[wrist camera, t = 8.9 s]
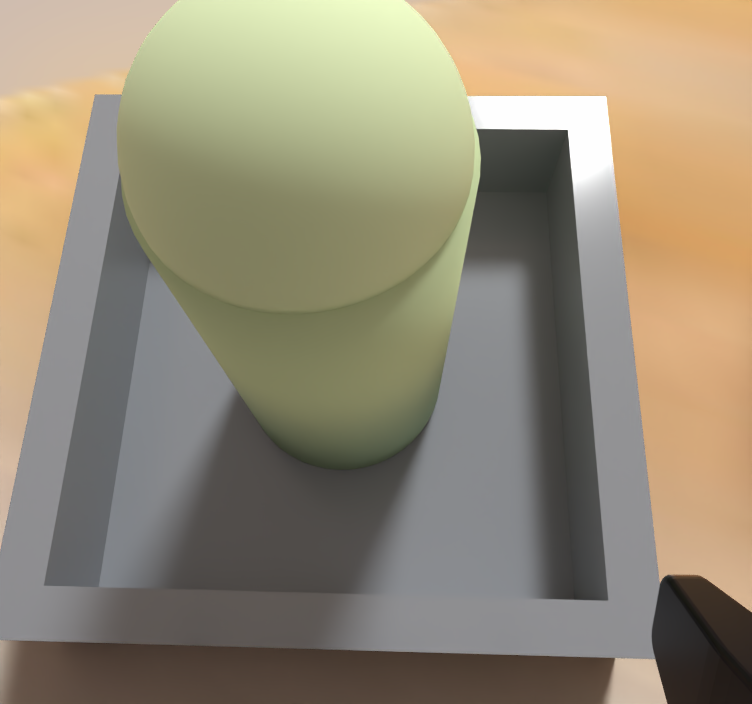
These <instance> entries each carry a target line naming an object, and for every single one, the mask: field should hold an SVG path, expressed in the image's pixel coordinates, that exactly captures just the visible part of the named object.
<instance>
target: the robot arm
mask: <svg viewBox="0 0 752 704" xmlns="http://www.w3.org/2000/svg"><path fill="white" fill-rule="evenodd" d="M651 637H652V647H653V652H654V656H655V659H656V663H657V667H658V670H659V674H660V678H661V682H662V685H663V689H664V693H665V696H666V700H667V704H752V612H750V611H749V610H748V609H746V608H745V607H743V606H742V605H741V604H739V603H738V602H737V601H735V600H734V599H733V598H731V597H730V596H728V595H727V594H726V593H724V592H723V591H722V590H720V589H719V588H718V587H716V586H715V585H713V584H712V583H711V582H709V581H708V580H707V579H705V578H703V577H701V576H698V575H667V576H665V577H664V578H663V579H662V581H661V583H660V587H659V592H658V597H657V603H656V608H655V614H654V619H653V625H652V635H651Z"/></svg>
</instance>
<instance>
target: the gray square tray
mask: <svg viewBox="0 0 752 704" xmlns="http://www.w3.org/2000/svg"><path fill="white" fill-rule="evenodd" d="M121 96H122V95H95V98H94V102H93V107H92V112H91V117H90V122H89V126H88V131H87V136H86V141H85V146H84V151H83V155H82V160H81V165H80V170H79V175H78V179H77V184H76V189H75V194H74V199H73V203H72V208H71V213H70V218H69V223H68V228H67V232H66V237H65V242H64V247H63V252H62V256H61V261H60V266H59V271H58V276H57V281H56V285H55V290H54V295H53V300H52V305H51V309H50V314H49V319H48V324H47V329H46V333H45V338H44V343H43V348H42V353H41V358H40V362H39V367H38V372H37V377H36V382H35V386H34V391H33V396H32V401H31V406H30V411H29V415H28V420H27V425H26V430H25V435H24V439H23V444H22V449H21V454H20V459H19V463H18V468H17V473H16V478H15V483H14V488H13V492H12V497H11V502H10V507H9V512H8V516H7V521H6V526H5V531H4V536H3V541H2V545H1V550H0V640H19V641H53V642H88V643H122V644H156V645H190V646H225V647H259V648H293V649H328V650H362V651H396V652H430V653H465V654H499V655H533V656H567V657H602V658H636V659H655V656H654V652H653V647H652V637H651V635H652V625H653V619H654V614H655V608H656V603H657V597H658V592H659V587H660V583H659V574H658V565H657V556H656V547H655V538H654V529H653V520H652V511H651V501H650V492H649V483H648V474H647V465H646V456H645V447H644V438H643V429H642V420H641V411H640V402H639V393H638V384H637V375H636V366H635V357H634V348H633V339H632V330H631V321H630V311H629V302H628V293H627V284H626V275H625V266H624V257H623V248H622V239H621V230H620V221H619V212H618V203H617V194H616V185H615V176H614V167H613V158H612V149H611V140H610V130H609V121H608V112H607V103H606V97H553V96H467V97H468V101H469V104H470V108H471V114H472V117H473V119H474V123H475V126H476V130H477V133H478V137H479V146H480V154H481V164H480V179H479V184H478V190H477V195H476V200H475V205H474V210H473V216H472V221H471V226H470V231H469V237H468V242H467V247H466V252H465V258H464V263H463V268H462V273H461V279H460V284H459V289H458V294H457V300H456V305H455V310H454V315H453V320H452V326H451V331H450V336H449V341H448V347H447V352H446V357H445V362H444V368H443V373H442V378H441V383H440V389H439V394H438V399H437V402H436V405H435V408H434V411H433V413H432V415H431V417H430V419H429V421H428V422H427V424H426V425H425V427H424V428H423V430H422V431H421V433H420V434H419V435H418V436H417V437H416V438H415V439H414V440H413V441H412V442H411V443H410V444H409V445H408V446H407V447H405V448H404V449H403V450H402V451H400V452H399V453H397V454H395V455H394V456H392V457H391V458H389V459H386V460H384V461H382V462H380V463H377V464H374V465H371V466H368V467H363V468H358V469H349V470H335V469H326V468H321V467H316V466H313V465H310V464H307V463H304V462H302V461H300V460H298V459H296V458H294V457H292V456H290V455H289V454H288V453H286V452H285V451H283V450H282V449H281V448H279V447H278V446H277V445H276V444H275V443H274V442H273V441H272V440H271V439H270V438H269V436H268V435H267V434H266V433H265V431H264V430H263V429H262V427H261V426H260V424H259V423H258V421H257V420H256V418H255V417H254V415H253V414H252V412H251V411H250V409H249V408H248V406H247V405H246V403H245V402H244V400H243V399H242V397H241V396H240V394H239V393H238V391H237V390H236V388H235V387H234V385H233V384H232V382H231V381H230V379H229V378H228V376H227V375H226V373H225V372H224V370H223V369H222V367H221V366H220V364H219V363H218V361H217V360H216V358H215V357H214V355H213V354H212V352H211V351H210V349H209V348H208V346H207V345H206V343H205V342H204V340H203V339H202V337H201V336H200V334H199V333H198V331H197V330H196V328H195V327H194V325H193V324H192V322H191V321H190V319H189V318H188V316H187V315H186V313H185V312H184V310H183V309H182V307H181V306H180V304H179V303H178V301H177V300H176V298H175V297H174V295H173V294H172V292H171V291H170V289H169V288H168V286H167V285H166V283H165V282H164V280H163V279H162V278H161V276H160V275H159V273H158V272H157V270H156V269H155V267H154V266H153V264H152V263H151V261H150V260H149V258H148V257H147V255H146V254H145V252H144V250H143V249H142V247H141V245H140V244H139V242H138V240H137V239H136V237H135V235H134V233H133V231H132V228H131V226H130V223H129V221H128V218H127V216H126V212H125V207H124V203H123V198H122V188H121V176H120V171H119V167H118V153H117V121H118V112H119V106H120V101H121Z"/></svg>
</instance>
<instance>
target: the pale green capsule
mask: <svg viewBox="0 0 752 704" xmlns="http://www.w3.org/2000/svg"><path fill="white" fill-rule="evenodd" d="M117 153H118V167H119V171H120V176H121V188H122V198H123V203H124V207H125V212H126V216H127V218H128V221H129V223H130V226H131V228H132V231H133V233H134V235H135V237H136V239H137V240H138V242H139V244H140V245H141V247H142V249H143V250H144V252H145V254H146V255H147V257H148V258H149V260H150V261H151V263H152V264H153V266H154V267H155V269H156V270H157V272H158V273H159V275H160V276H161V278H162V279H163V280H164V282H165V283H166V285H167V286H168V288H169V289H170V291H171V292H172V294H173V295H174V297H175V298H176V300H177V301H178V303H179V304H180V306H181V307H182V309H183V310H184V312H185V313H186V315H187V316H188V318H189V319H190V321H191V322H192V324H193V325H194V327H195V328H196V330H197V331H198V333H199V334H200V336H201V337H202V339H203V340H204V342H205V343H206V345H207V346H208V348H209V349H210V351H211V352H212V354H213V355H214V357H215V358H216V360H217V361H218V363H219V364H220V366H221V367H222V369H223V370H224V372H225V373H226V375H227V376H228V378H229V379H230V381H231V382H232V384H233V385H234V387H235V388H236V390H237V391H238V393H239V394H240V396H241V397H242V399H243V400H244V402H245V403H246V405H247V406H248V408H249V409H250V411H251V412H252V414H253V415H254V417H255V418H256V420H257V421H258V423H259V424H260V426H261V427H262V429H263V430H264V431H265V433H266V434H267V435H268V436H269V438H270V439H271V440H272V441H273V442H274V443H275V444H276V445H277V446H278V447H279V448H281V449H282V450H283V451H285V452H286V453H288V454H289V455H290V456H292V457H294V458H296V459H298V460H300V461H302V462H304V463H307V464H310V465H313V466H316V467H321V468H326V469H335V470H349V469H358V468H363V467H368V466H371V465H374V464H377V463H380V462H382V461H384V460H386V459H389V458H391V457H392V456H394V455H395V454H397V453H399V452H400V451H402V450H403V449H404V448H405V447H407V446H408V445H409V444H410V443H411V442H412V441H413V440H414V439H415V438H416V437H417V436H418V435H419V434H420V433H421V431H422V430H423V428H424V427H425V425H426V424H427V422H428V421H429V419H430V417H431V415H432V413H433V411H434V408H435V405H436V402H437V399H438V394H439V389H440V383H441V378H442V373H443V368H444V362H445V357H446V352H447V347H448V341H449V336H450V331H451V326H452V320H453V315H454V310H455V305H456V300H457V294H458V289H459V284H460V279H461V273H462V268H463V263H464V258H465V252H466V247H467V242H468V237H469V231H470V226H471V221H472V216H473V210H474V205H475V200H476V195H477V190H478V184H479V179H480V164H481V154H480V146H479V137H478V133H477V130H476V126H475V123H474V119H473V117H472V114H471V108H470V104H469V101H468V97H467V94H466V90H465V87H464V85H463V82H462V79H461V77H460V74H459V72H458V70H457V68H456V65H455V63H454V61H453V59H452V57H451V56H450V54H449V53H448V51H447V49H446V48H445V46H444V45H443V43H442V42H441V40H440V39H439V37H438V36H437V34H436V32H435V31H434V30H433V29H432V27H431V26H430V25H429V24H428V23H427V22H426V21H425V19H424V18H423V17H422V16H421V15H420V14H419V13H418V12H417V11H416V10H415V9H414V8H413V7H412V6H410V5H409V4H408V3H407V2H406V1H405V0H178V1H177V2H176V3H175V4H174V5H173V6H172V7H171V8H170V9H169V10H168V11H167V12H166V13H165V14H164V15H163V17H162V18H161V19H160V20H159V22H158V23H157V24H156V25H155V26H154V28H153V29H152V30H151V31H150V33H149V34H148V35H147V37H146V39H145V40H144V42H143V44H142V45H141V47H140V49H139V51H138V53H137V55H136V57H135V59H134V61H133V64H132V66H131V68H130V71H129V73H128V75H127V78H126V81H125V85H124V88H123V92H122V96H121V101H120V106H119V112H118V121H117Z"/></svg>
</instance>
